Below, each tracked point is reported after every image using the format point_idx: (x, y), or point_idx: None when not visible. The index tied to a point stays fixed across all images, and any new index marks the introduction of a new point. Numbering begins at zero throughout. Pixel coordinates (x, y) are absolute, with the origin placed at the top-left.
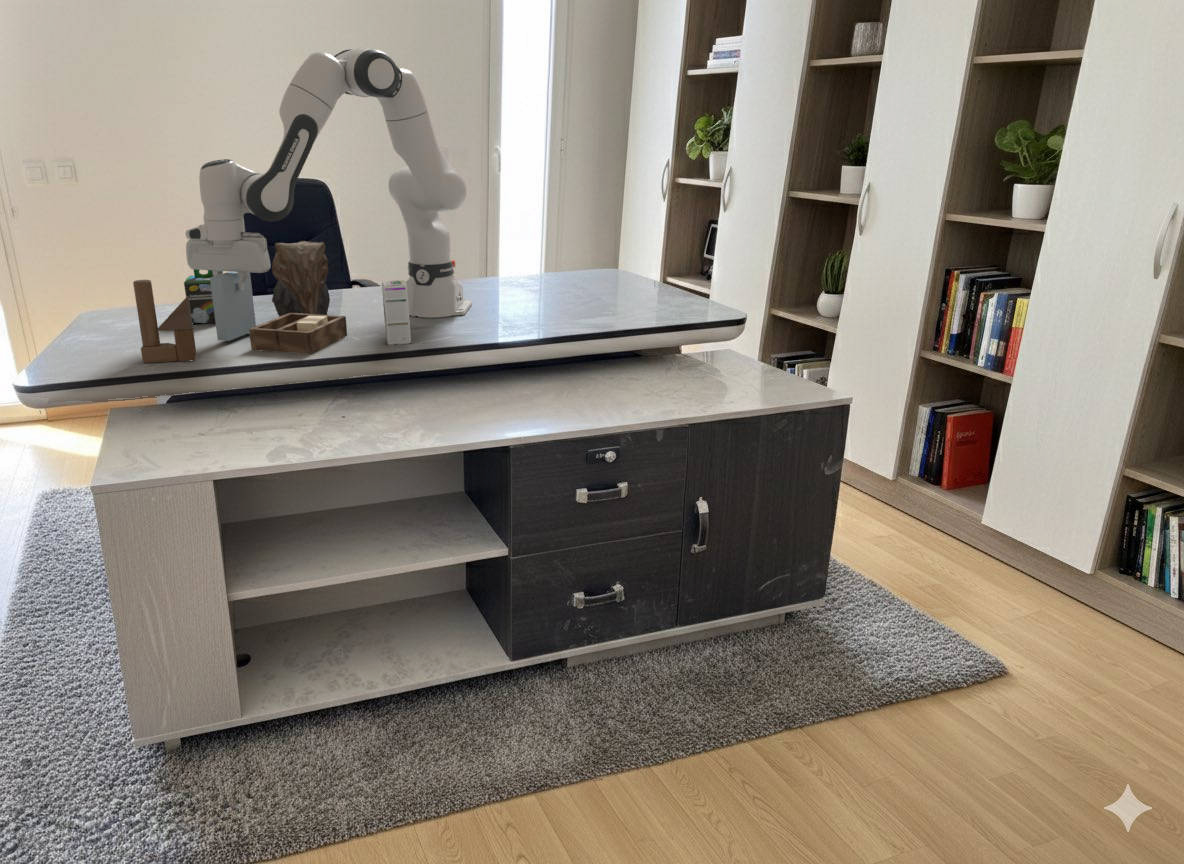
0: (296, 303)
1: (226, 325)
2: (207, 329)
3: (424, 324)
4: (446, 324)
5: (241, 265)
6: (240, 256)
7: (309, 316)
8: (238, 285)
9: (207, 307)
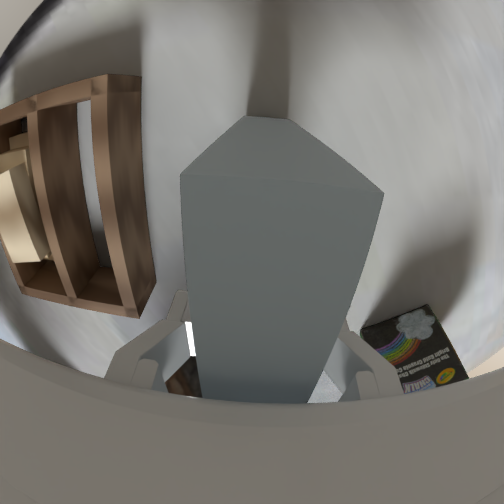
0: (196, 390)
1: (243, 119)
2: (386, 275)
3: (31, 339)
4: (17, 337)
5: (54, 416)
6: (34, 492)
7: (32, 252)
8: (187, 310)
9: (405, 346)
